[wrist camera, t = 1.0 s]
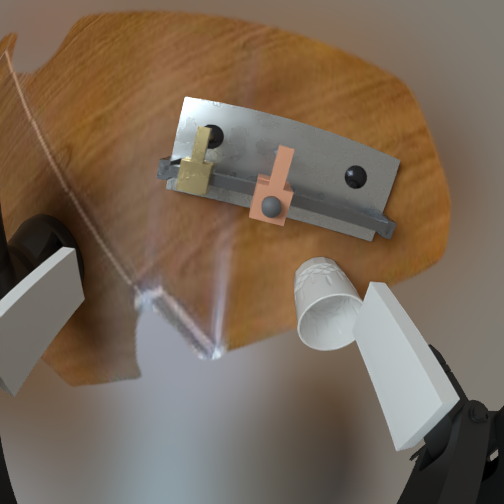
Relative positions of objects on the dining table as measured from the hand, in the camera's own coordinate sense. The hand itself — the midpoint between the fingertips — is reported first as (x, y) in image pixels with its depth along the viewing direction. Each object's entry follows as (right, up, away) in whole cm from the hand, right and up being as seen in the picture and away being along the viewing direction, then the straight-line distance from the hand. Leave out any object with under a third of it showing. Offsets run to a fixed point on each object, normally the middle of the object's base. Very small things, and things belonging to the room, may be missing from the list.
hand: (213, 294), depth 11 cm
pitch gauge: (+5, +12, +20) cm, 24 cm away
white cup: (+11, -2, +26) cm, 28 cm away
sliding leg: (+4, +10, +18) cm, 21 cm away
